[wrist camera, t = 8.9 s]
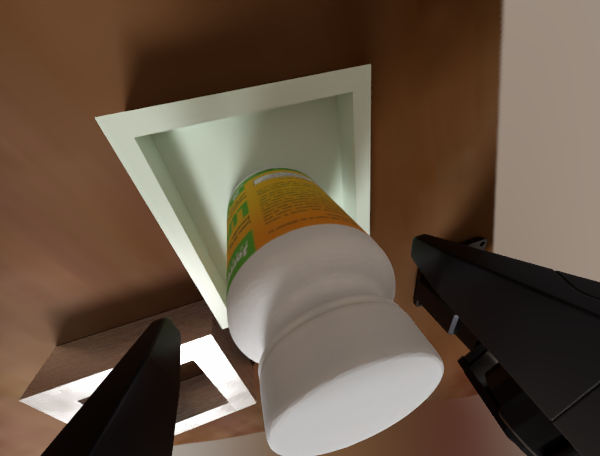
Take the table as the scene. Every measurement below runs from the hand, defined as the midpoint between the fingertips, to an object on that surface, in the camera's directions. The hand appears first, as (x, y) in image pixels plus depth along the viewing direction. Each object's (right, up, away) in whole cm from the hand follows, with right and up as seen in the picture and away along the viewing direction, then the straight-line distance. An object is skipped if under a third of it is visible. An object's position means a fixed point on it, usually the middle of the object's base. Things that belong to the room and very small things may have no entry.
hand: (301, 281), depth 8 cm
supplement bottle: (-1, +3, +5) cm, 6 cm away
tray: (-2, +3, +5) cm, 6 cm away
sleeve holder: (-10, -8, +10) cm, 16 cm away
